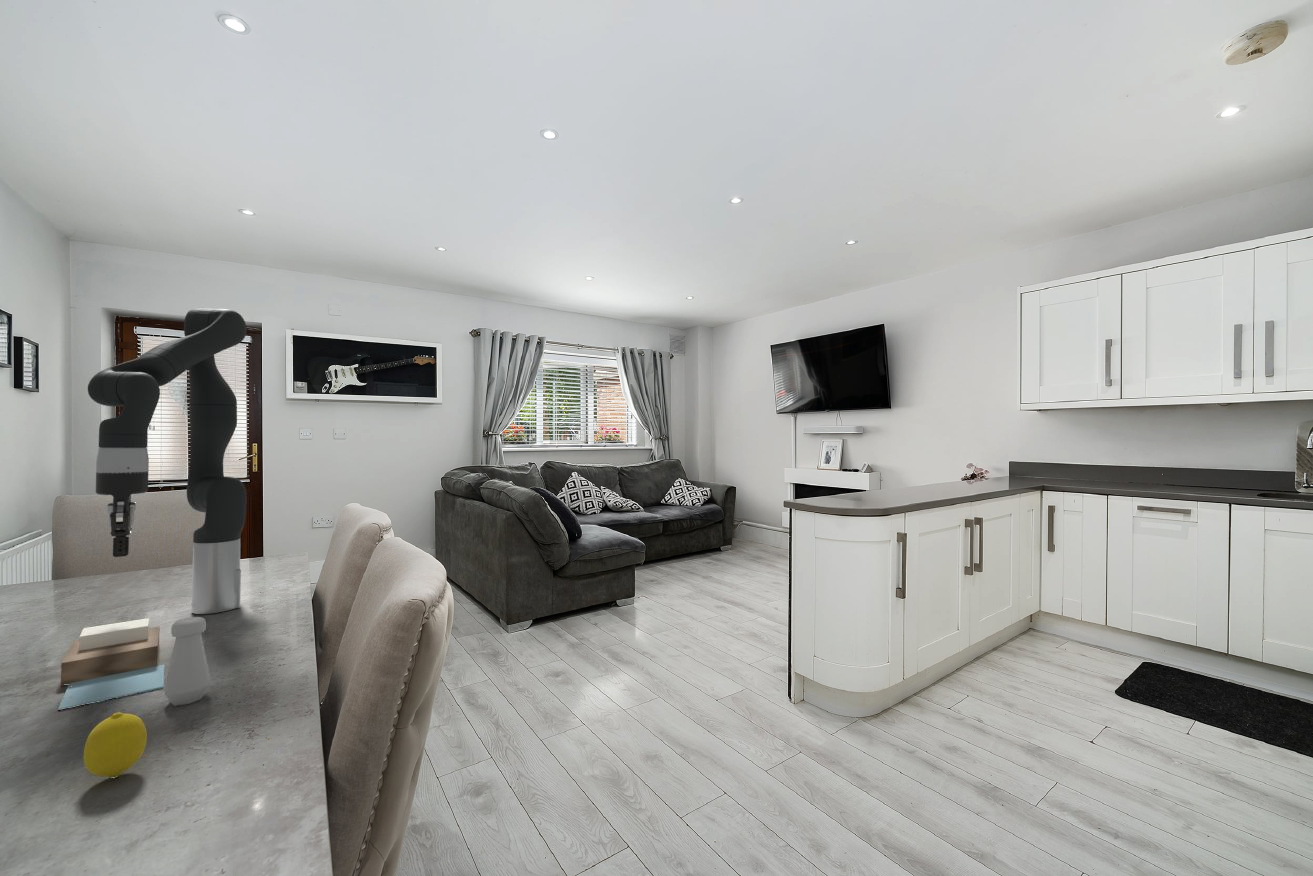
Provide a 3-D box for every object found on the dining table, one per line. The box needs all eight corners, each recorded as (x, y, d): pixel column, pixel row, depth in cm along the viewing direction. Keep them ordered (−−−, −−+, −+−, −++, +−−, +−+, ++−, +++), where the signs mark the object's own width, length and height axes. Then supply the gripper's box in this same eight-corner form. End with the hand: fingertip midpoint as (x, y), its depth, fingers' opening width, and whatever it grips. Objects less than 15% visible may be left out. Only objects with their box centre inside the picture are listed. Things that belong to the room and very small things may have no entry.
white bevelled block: (149, 630, 107) (149, 618, 107) (147, 638, 102) (148, 625, 102) (83, 641, 101) (83, 628, 101) (79, 650, 96) (79, 636, 96)
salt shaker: (219, 694, 88) (220, 616, 89) (178, 710, 83) (180, 626, 83) (195, 689, 90) (197, 612, 90) (154, 704, 85) (156, 622, 85)
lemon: (111, 765, 69) (113, 703, 69) (157, 763, 69) (159, 701, 69) (68, 793, 63) (70, 725, 63) (118, 791, 64) (120, 723, 64)
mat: (164, 666, 99) (164, 664, 99) (163, 688, 91) (163, 686, 91) (69, 685, 91) (69, 683, 91) (57, 711, 83) (57, 709, 83)
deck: (159, 646, 109) (159, 626, 109) (157, 667, 99) (157, 645, 99) (72, 661, 101) (73, 640, 101) (60, 686, 91) (61, 663, 91)
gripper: (147, 471, 106) (145, 558, 105) (149, 468, 115) (147, 548, 115) (92, 472, 101) (89, 564, 100) (99, 469, 110) (97, 553, 110)
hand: (120, 555), depth 108 cm, fingers closed
